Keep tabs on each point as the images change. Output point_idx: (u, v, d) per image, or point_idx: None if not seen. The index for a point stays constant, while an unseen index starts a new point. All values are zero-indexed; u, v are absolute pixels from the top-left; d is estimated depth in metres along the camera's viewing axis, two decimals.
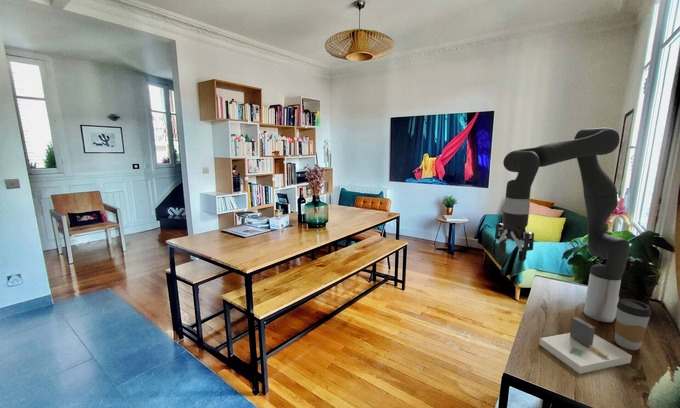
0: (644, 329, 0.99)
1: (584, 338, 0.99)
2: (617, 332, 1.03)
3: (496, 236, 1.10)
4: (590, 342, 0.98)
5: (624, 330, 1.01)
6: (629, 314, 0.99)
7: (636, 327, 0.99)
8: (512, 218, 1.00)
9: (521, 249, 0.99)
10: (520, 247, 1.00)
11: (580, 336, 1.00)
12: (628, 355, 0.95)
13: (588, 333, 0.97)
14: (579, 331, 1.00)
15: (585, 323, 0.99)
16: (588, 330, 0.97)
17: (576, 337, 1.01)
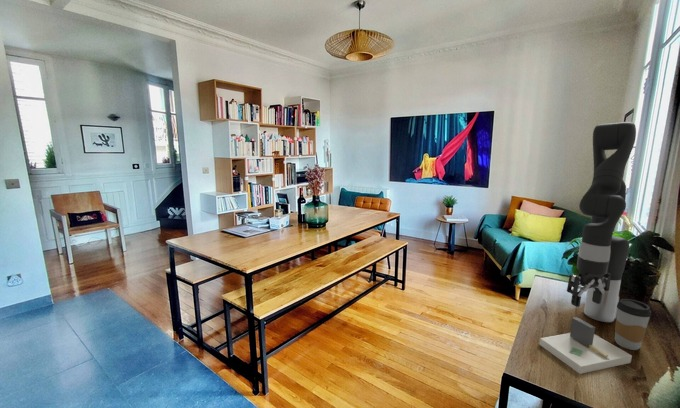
0: (644, 329, 0.99)
1: (584, 338, 0.99)
2: (618, 332, 1.03)
3: (576, 292, 0.95)
4: (590, 342, 0.98)
5: (624, 330, 1.01)
6: (629, 314, 0.99)
7: (636, 327, 0.99)
8: (608, 265, 0.94)
9: (603, 291, 0.98)
10: (603, 290, 0.98)
11: (580, 336, 1.00)
12: (628, 355, 0.95)
13: (588, 333, 0.97)
14: (579, 331, 1.00)
15: (585, 323, 0.99)
16: (588, 330, 0.97)
17: (576, 337, 1.01)
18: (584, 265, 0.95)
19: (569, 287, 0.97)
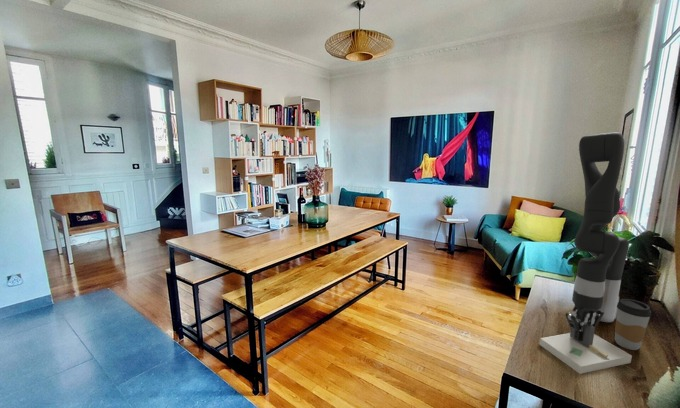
0: (644, 329, 0.99)
1: (584, 338, 0.99)
2: (618, 332, 1.03)
3: (578, 327, 0.98)
4: (590, 342, 0.98)
5: (624, 330, 1.01)
6: (629, 314, 0.99)
7: (636, 327, 0.99)
8: (602, 300, 0.96)
9: None
10: None
11: None
12: (628, 355, 0.95)
13: (588, 333, 0.97)
14: None
15: None
16: (588, 330, 0.97)
17: None
18: (579, 299, 0.97)
19: (570, 323, 1.00)
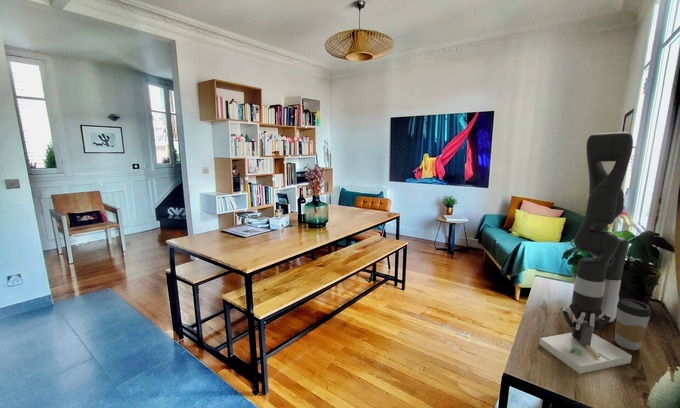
0: (644, 329, 0.99)
1: (582, 338, 0.99)
2: (617, 332, 1.03)
3: (572, 324, 1.00)
4: (587, 342, 0.98)
5: (624, 330, 1.01)
6: (629, 314, 0.99)
7: (636, 327, 0.99)
8: (600, 302, 0.95)
9: None
10: None
11: (579, 335, 1.00)
12: (628, 355, 0.95)
13: (585, 333, 0.98)
14: None
15: (584, 323, 0.99)
16: (585, 330, 0.98)
17: None
18: (574, 296, 0.99)
19: None
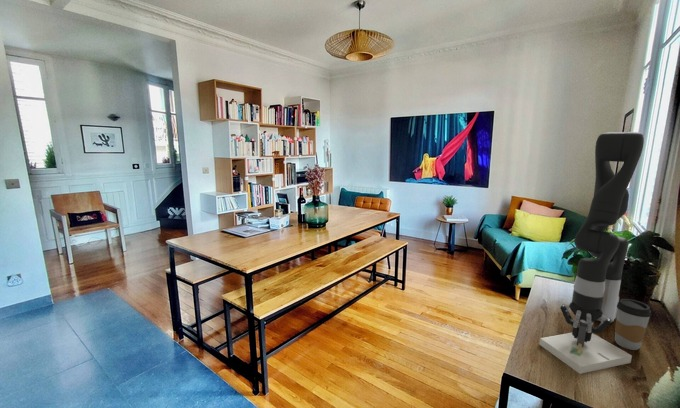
0: (644, 329, 0.99)
1: None
2: (617, 332, 1.03)
3: (569, 321, 1.02)
4: (580, 341, 0.98)
5: (624, 330, 1.01)
6: (629, 314, 0.99)
7: (636, 327, 0.99)
8: (594, 302, 0.94)
9: (590, 331, 0.98)
10: (589, 329, 0.98)
11: None
12: (628, 355, 0.95)
13: None
14: None
15: (583, 323, 0.99)
16: (579, 328, 0.99)
17: None
18: (573, 293, 1.01)
19: None
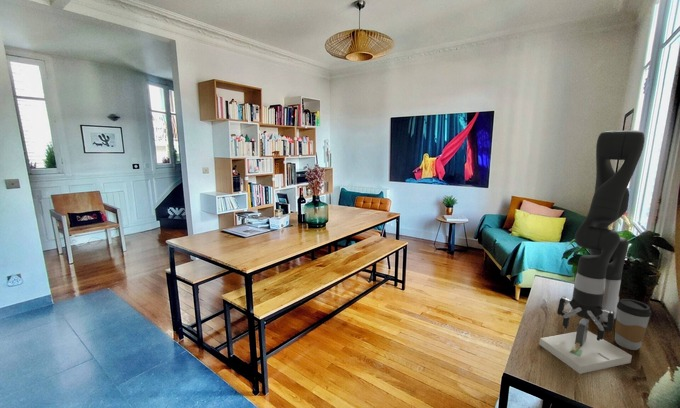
0: (644, 329, 0.99)
1: None
2: (618, 332, 1.03)
3: (560, 311, 1.03)
4: (578, 340, 0.99)
5: (624, 330, 1.01)
6: (629, 314, 0.99)
7: (636, 327, 0.99)
8: (594, 299, 0.94)
9: (602, 329, 0.95)
10: (601, 327, 0.95)
11: None
12: (628, 355, 0.95)
13: (577, 330, 0.99)
14: None
15: (582, 323, 0.99)
16: (577, 327, 0.99)
17: None
18: (573, 290, 1.00)
19: None
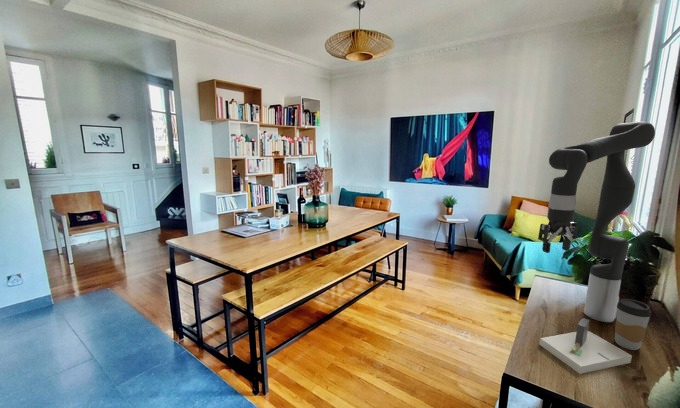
0: (644, 329, 0.99)
1: None
2: (618, 332, 1.03)
3: (546, 238, 1.06)
4: (578, 340, 0.99)
5: (624, 330, 1.01)
6: (629, 314, 0.99)
7: (636, 327, 0.99)
8: None
9: (571, 239, 1.08)
10: (571, 238, 1.08)
11: None
12: (628, 355, 0.95)
13: (577, 330, 0.99)
14: None
15: (582, 323, 0.99)
16: None
17: None
18: (552, 214, 1.05)
19: (540, 235, 1.07)
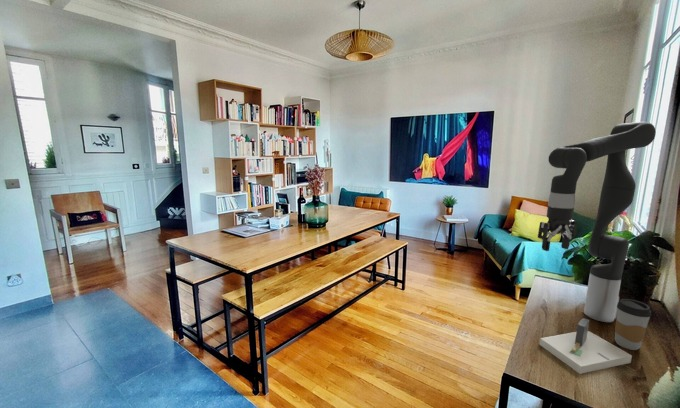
0: (644, 329, 0.99)
1: None
2: (618, 332, 1.03)
3: (545, 236, 1.06)
4: (578, 340, 0.99)
5: (624, 330, 1.01)
6: (629, 314, 0.99)
7: (636, 327, 0.99)
8: None
9: (570, 237, 1.09)
10: (570, 236, 1.09)
11: None
12: (628, 355, 0.95)
13: None
14: None
15: (582, 323, 0.99)
16: None
17: None
18: (552, 212, 1.06)
19: (539, 233, 1.08)
